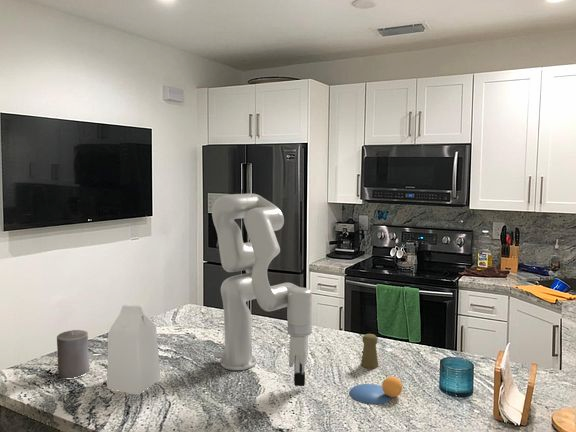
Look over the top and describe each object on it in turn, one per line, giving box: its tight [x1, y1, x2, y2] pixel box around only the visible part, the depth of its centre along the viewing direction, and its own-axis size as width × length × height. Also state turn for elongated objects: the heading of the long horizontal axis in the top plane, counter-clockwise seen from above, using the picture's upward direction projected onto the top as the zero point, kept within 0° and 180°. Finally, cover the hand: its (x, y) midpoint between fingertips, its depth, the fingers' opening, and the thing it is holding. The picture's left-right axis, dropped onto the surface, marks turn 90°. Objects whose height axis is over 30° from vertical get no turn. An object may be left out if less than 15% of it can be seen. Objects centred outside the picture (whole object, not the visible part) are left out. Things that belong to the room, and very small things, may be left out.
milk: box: [106, 303, 162, 395], centre depth 157 cm, size 12×12×26 cm
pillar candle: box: [56, 329, 90, 379], centre depth 166 cm, size 10×10×15 cm
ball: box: [381, 375, 403, 398], centre depth 149 cm, size 6×6×6 cm
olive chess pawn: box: [360, 333, 379, 370], centre depth 172 cm, size 6×6×11 cm
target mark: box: [349, 383, 393, 405], centre depth 151 cm, size 13×13×1 cm
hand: (299, 384), depth 154 cm, fingers closed
